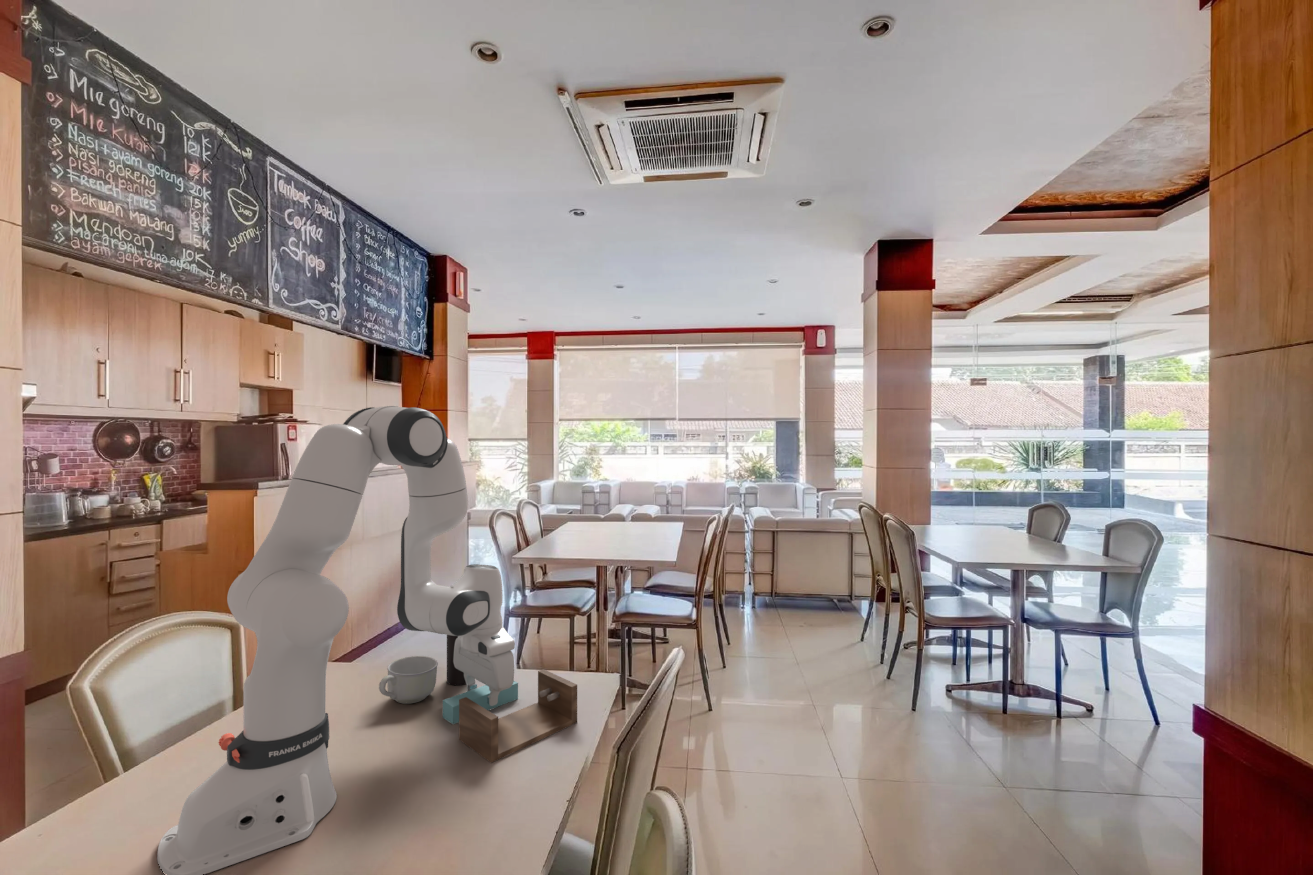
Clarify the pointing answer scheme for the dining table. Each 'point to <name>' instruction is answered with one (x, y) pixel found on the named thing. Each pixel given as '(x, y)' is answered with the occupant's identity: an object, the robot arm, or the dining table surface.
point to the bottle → (452, 673)
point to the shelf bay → (519, 719)
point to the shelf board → (477, 700)
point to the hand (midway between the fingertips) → (481, 697)
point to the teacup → (410, 679)
